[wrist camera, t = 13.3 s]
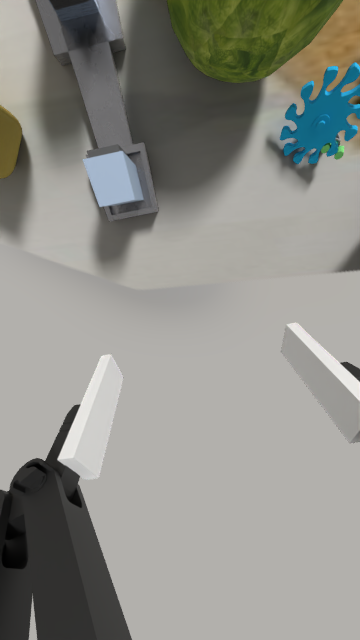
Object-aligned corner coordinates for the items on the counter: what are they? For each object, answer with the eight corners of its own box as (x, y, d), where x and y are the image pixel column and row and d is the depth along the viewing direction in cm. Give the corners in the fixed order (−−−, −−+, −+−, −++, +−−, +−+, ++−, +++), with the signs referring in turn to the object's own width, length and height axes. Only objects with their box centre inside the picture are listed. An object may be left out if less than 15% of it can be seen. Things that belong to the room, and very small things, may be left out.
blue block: (134, 158, 28) (119, 140, 19) (143, 199, 31) (134, 199, 22) (105, 164, 28) (79, 149, 19) (117, 205, 31) (99, 207, 22)
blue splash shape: (266, 127, 27) (359, 36, 18) (273, 103, 28) (362, 9, 20) (299, 185, 32) (383, 134, 24) (304, 162, 34) (384, 107, 25)
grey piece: (98, -89, 19) (16, -427, 9) (158, 210, 33) (155, 215, 23) (18, -66, 19) (-149, -365, 9) (113, 219, 34) (90, 228, 24)
